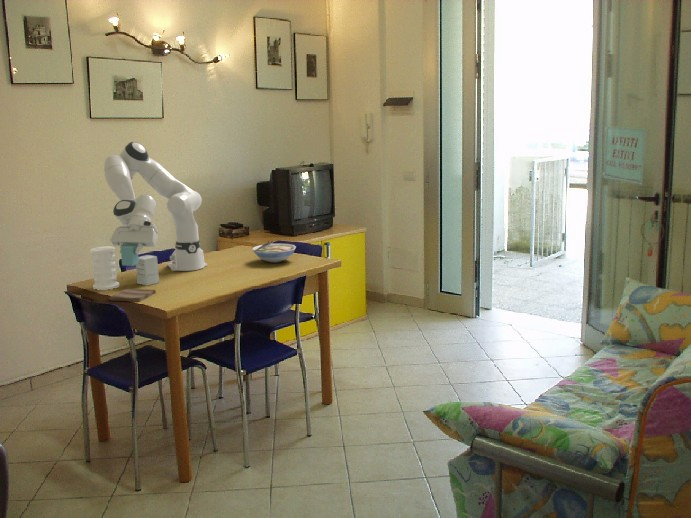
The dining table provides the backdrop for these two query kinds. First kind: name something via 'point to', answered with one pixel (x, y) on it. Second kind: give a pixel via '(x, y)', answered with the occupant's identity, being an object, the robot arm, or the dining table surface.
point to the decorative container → (104, 268)
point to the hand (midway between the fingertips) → (128, 253)
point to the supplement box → (147, 270)
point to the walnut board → (132, 295)
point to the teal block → (129, 255)
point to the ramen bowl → (274, 251)
